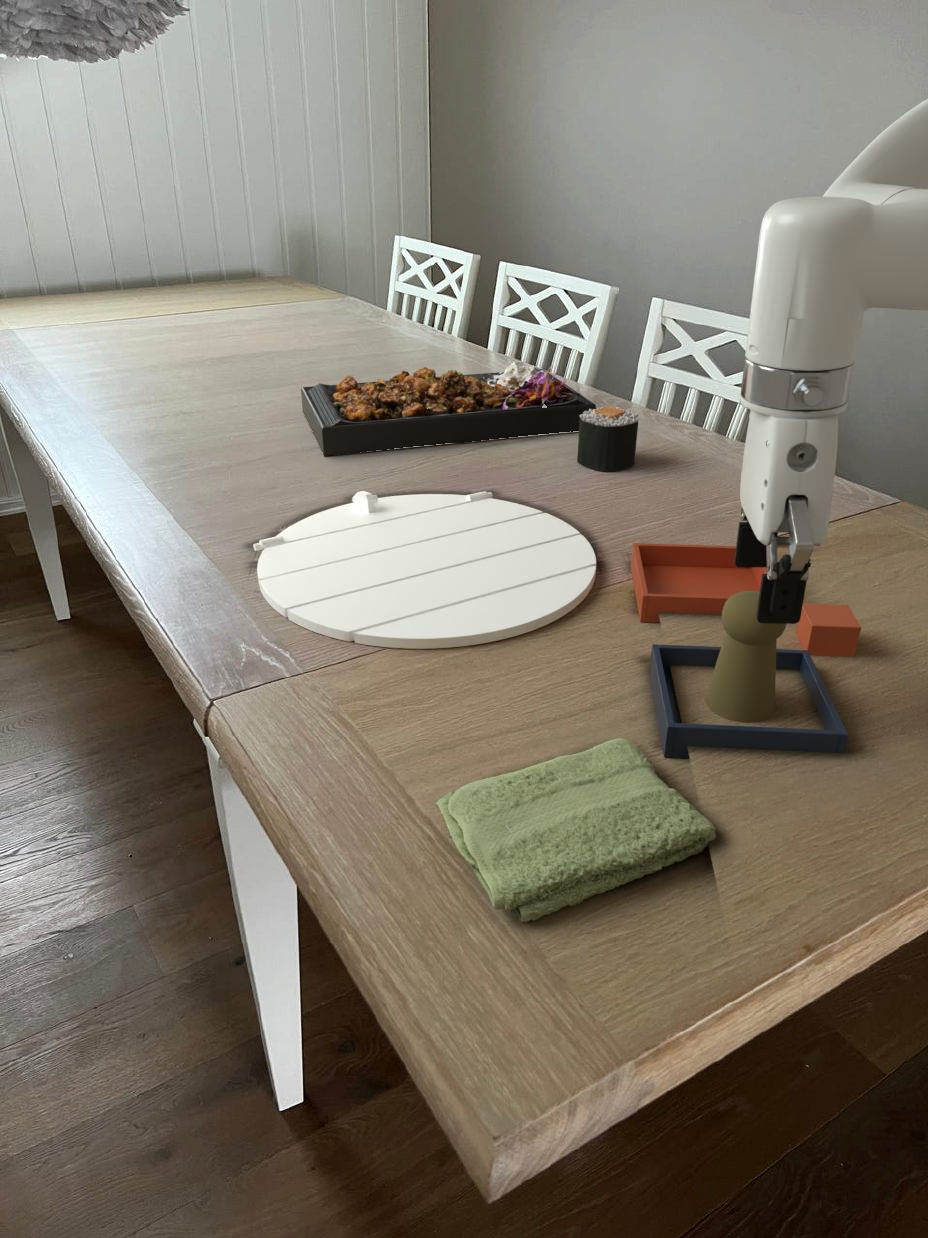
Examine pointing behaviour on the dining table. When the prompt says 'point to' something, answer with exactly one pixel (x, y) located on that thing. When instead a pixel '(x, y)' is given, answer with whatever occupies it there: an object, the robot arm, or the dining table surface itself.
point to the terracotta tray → (687, 578)
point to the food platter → (440, 409)
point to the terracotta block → (828, 630)
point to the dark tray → (742, 737)
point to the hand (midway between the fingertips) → (764, 592)
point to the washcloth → (571, 828)
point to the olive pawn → (745, 663)
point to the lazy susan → (426, 570)
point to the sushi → (607, 438)
